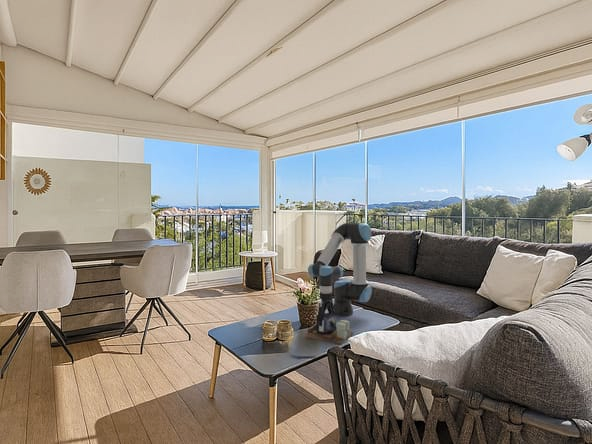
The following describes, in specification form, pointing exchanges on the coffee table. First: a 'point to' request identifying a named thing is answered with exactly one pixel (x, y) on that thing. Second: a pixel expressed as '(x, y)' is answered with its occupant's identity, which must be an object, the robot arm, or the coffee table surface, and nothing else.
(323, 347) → the coffee table surface
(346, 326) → the cradle
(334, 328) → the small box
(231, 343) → the coffee table surface
